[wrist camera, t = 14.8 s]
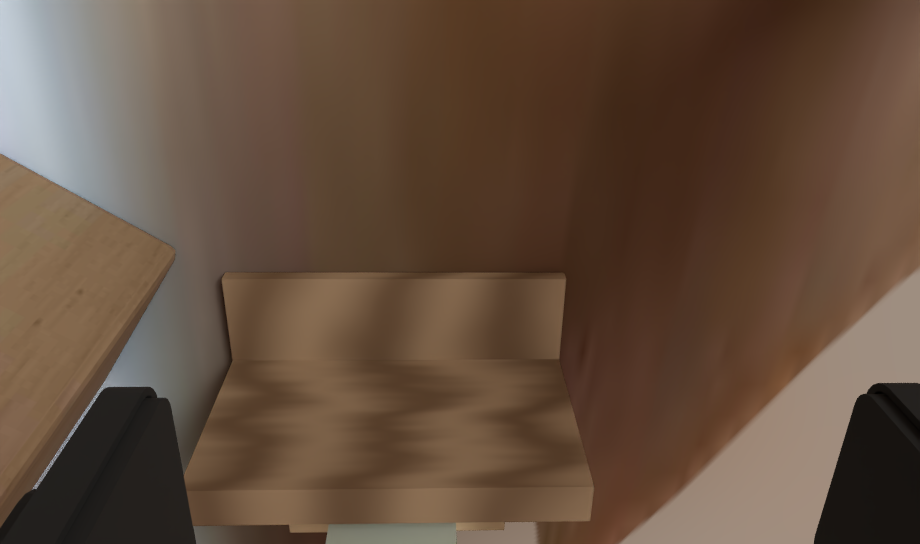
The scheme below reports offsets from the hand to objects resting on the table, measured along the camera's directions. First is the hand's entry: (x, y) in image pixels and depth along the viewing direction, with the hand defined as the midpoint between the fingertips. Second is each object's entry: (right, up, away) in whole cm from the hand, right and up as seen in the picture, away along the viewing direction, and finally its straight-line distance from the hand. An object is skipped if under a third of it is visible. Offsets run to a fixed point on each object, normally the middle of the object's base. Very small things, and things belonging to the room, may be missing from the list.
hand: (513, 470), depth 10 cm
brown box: (-4, -3, +33) cm, 33 cm away
